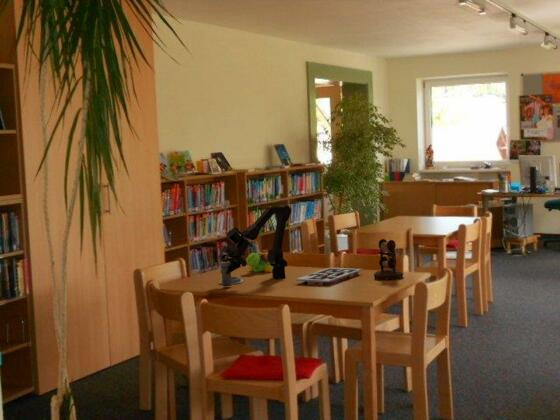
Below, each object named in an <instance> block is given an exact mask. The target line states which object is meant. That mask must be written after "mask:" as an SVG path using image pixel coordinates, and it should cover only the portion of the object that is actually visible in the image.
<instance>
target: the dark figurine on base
mask: <svg viewBox="0 0 560 420" xmlns="http://www.w3.org/2000/svg"><path fill="white" fill-rule="evenodd" d="M396 245H397V244H396V241H395V240H393V239H389V240H388V241H387V240H386V239H385V238H381V239H380V240H379V241H378V248H379V253H378V254H379V255H380V258H379V266H380V270H377V271H375V272H374V273H373V277H374V279H377V278H383V279H386V281H389V279H390V278H399V277H400V278H401V279H402V278H403V275H404V272H403V271H401V270H399V269H397V268H396V267H397V256H396V250H395V249H396ZM386 256H387V257H386Z"/></svg>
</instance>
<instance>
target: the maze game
mask: <svg viewBox="0 0 560 420" xmlns="http://www.w3.org/2000/svg"><path fill="white" fill-rule="evenodd" d="M361 271H362V268H346V267H345V268H342V267H328V268H325V269H321V270H319V271H316V272H313V273H310V274H306V275H304V276H301V277H297V278H295V281H296V282H297V281H298V282H306V283H307V285H308V286H309V285H311V286H325V285H328V286H332V285H335V284H337V283H339V282H342V281H344V280H346V279H350V278H354V277H357V276H359V272H361Z"/></svg>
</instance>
